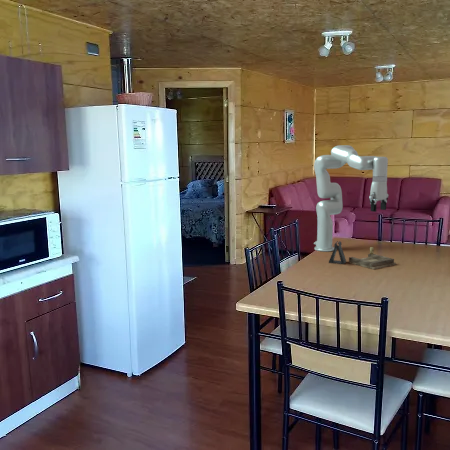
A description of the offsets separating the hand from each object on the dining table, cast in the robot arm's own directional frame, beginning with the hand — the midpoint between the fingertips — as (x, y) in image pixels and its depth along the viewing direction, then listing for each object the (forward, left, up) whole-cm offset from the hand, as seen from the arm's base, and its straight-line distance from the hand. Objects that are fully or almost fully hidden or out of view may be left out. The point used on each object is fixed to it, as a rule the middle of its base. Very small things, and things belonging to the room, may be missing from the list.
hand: (378, 210), depth 261 cm
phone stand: (-15, -15, -31) cm, 37 cm away
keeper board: (-2, -1, -30) cm, 30 cm away
